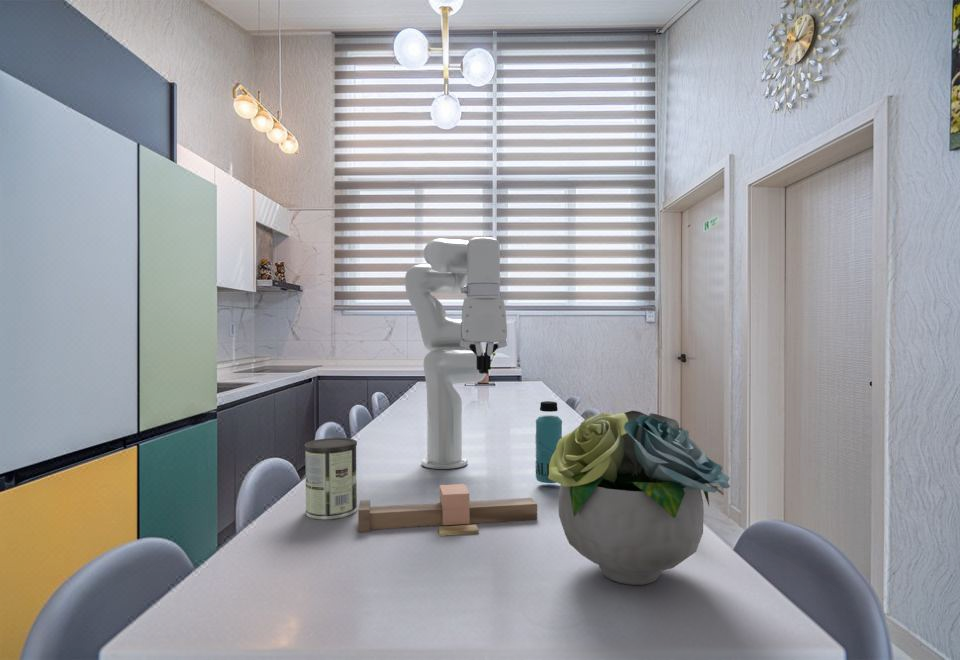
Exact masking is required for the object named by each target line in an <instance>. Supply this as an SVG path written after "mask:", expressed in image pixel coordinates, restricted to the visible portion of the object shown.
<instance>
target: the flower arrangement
mask: <svg viewBox="0 0 960 660" xmlns="http://www.w3.org/2000/svg"><path fill="white" fill-rule="evenodd" d="M689 434H690V431H689V430H688V429H684V428H683V427H680V425H679V422H678V421H677V420H676V419H674V418H671V417H668V416H664V415H661V414H657V413H652V412H651V413H649V414H645V413H644V412H641V411H638V410H630V411H626V412H622V413H621V412H620V413H617V414H612V413H606V412H605V413H599V414H596V415H595V414H593V413H590V414H588V415H587V416H586V418H585V419H584V420H583V421H581V423H580V425H578V426H577V427H576V428H575V429H573V430H572V431H571V432H569V433H567V434H566V435H564V436H562V438H561V439H559V441H558V443H557V447H556V450H555V452H554V454H553V455H552V457H551V460H550V463H549V476H548V478H549V479H550V480H552V481H554V482H557V484H559V490H558V495H557V498H558V499H557V501H558V502H557V503H558V518H559V520H560V524H561V526H562V529H563V532H564V535H565V537H566V539H567V542H568V543H569V545H570V546H571V547H573V549H575V550H576V552H578V554H579V555H581V556H582V557H584V558H586V559H587V560H589V561H590V562H592V563H593V564H596V565H598V568H599V570H600V572H601V573H602V575H603V576H605V577H606V578H607V579H609V580H611V581H613V582H616V583H620V584H625V585H630V586H635V585H636V586H638V585H639V586H640V585H641V586H644V585H647V584H652V583H653V582H655V581H656V580H658V579H659V578H660V575H661V572H663V571H667V570H671V569H673V568H675V567H677V566H678V565H680V564H681V563H682V562H683V561H685V560H687V559H688V558H689V557H690V556H692V555H694V554H695V553H696V552H697V550H698V547H699V546H700V543H701V540H702V537H703V534H704V512H705V511H704V510H705V509H704V507H705V506H704V500H703V494H702V491H703V493H704V497H705V499H706V501H707V505H708V506H710V500H709V493H713V494H714V493H717V492H718V490H719V489H718V486H717V485H719V486H720V488H722V489H729V488H731V485H730V484H729V483H728V482H729V481H730V479H731V477H729V476H728V475H726V474H725V473H723V472H722V471H723V466H722V465H721V464H719V463H717V462H716V461H714V460H712V459H710V458H709V457H708V456H707V454H706V452H705V451H703V449H701V447H699V445H697V443H696V442H695V441H694V440H693V439H691V437H689V436H690V435H689ZM707 484H717V485H712V486H708V485H707Z"/></svg>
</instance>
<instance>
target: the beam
mask: <svg viewBox="0 0 960 660" xmlns="http://www.w3.org/2000/svg"><path fill="white" fill-rule="evenodd" d="M357 512H358V513H357V515H358V518H357V519H358V520H357V521H358V524H357V525H358V529H357V531H358V533H366V532H370V530H383V529H384V530H385V529H400V528H401V529H402V527H403V528H414V527H415V528H417V527H418V526H420V527H431V526H432V527H434V526H433V525H436V526H438V533H439V536H440V537H445V536H446V535H447V536H460V535H462V536H463V535H476V534H479V531H480V530H479V528H478V526H477V524H480V523H484V524H485V523H498V522H499V523H501V522H514V521H534V520H538V503H537V502H536V501H535V499H533V497H524V498H523V497H522V498H520V497H519V498H505V499H485V500H484V499H483V500H469V512H470V524H459V525H443V520H442V505H441V503H440V502H432V503H431V502H429V503H415V504H413V503H412V504H411V503H410V504H395V505H394V504H392V505H375V506H371V499H362V500H359V504H358V508H357ZM428 525H429V526H428Z"/></svg>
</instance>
